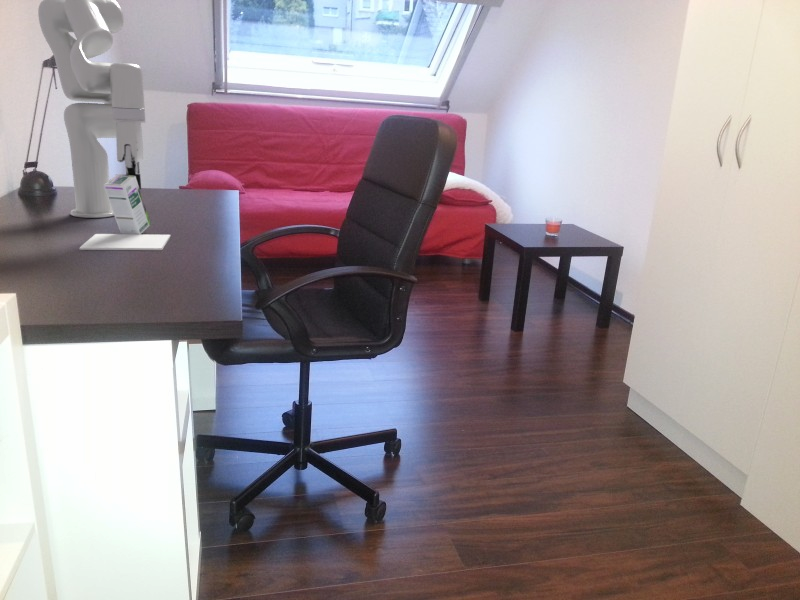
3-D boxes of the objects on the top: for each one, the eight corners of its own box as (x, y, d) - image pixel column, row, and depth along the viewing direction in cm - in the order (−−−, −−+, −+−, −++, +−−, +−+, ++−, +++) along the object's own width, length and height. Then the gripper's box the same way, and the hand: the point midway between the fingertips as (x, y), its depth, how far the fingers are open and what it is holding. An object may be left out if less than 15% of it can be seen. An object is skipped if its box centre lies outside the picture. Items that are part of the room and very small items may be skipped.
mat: (95, 235, 164) (95, 233, 164) (170, 236, 168) (170, 234, 167) (79, 249, 149) (79, 247, 149) (161, 250, 153) (161, 248, 152)
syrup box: (140, 236, 166) (124, 185, 157) (119, 234, 167) (102, 183, 158) (151, 224, 171) (136, 174, 162) (131, 223, 172) (115, 173, 163)
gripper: (118, 114, 167) (124, 186, 172) (106, 115, 153) (112, 193, 158) (149, 116, 169) (153, 186, 174) (140, 117, 155) (145, 194, 160)
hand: (134, 189), depth 166 cm, fingers closed
